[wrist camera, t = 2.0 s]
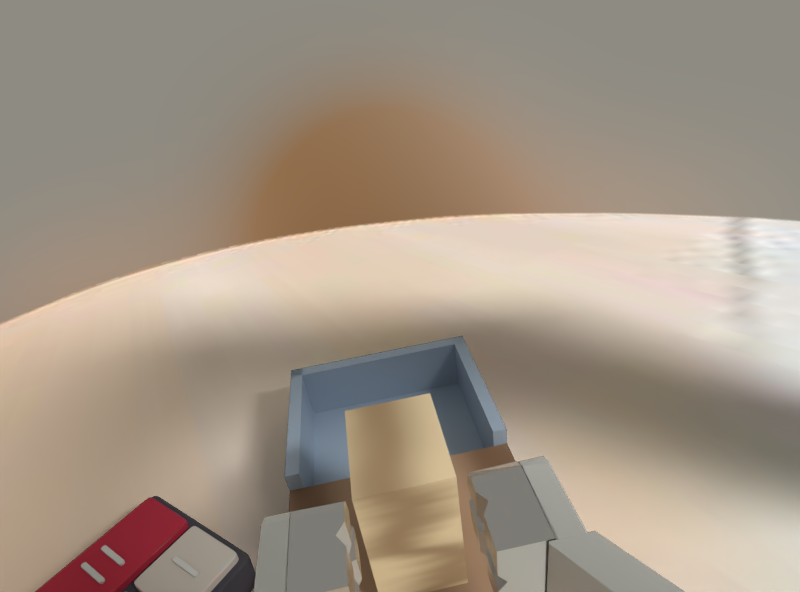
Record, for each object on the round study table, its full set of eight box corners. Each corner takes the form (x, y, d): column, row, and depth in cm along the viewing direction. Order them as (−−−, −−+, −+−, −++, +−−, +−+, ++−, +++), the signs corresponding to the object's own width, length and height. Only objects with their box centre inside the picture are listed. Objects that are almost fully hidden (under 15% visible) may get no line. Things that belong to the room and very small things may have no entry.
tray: (465, 381, 48) (462, 335, 45) (507, 479, 37) (506, 428, 35) (305, 414, 47) (291, 370, 44) (303, 525, 36) (284, 476, 34)
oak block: (443, 493, 32) (430, 392, 28) (468, 582, 27) (456, 476, 23) (370, 510, 32) (344, 410, 28) (381, 603, 27) (351, 499, 22)
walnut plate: (507, 479, 37) (506, 443, 35) (565, 615, 29) (568, 577, 27) (303, 525, 36) (290, 490, 34) (299, 680, 28) (282, 646, 26)
